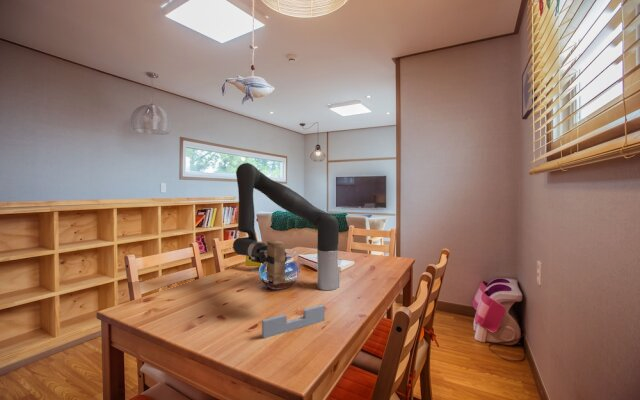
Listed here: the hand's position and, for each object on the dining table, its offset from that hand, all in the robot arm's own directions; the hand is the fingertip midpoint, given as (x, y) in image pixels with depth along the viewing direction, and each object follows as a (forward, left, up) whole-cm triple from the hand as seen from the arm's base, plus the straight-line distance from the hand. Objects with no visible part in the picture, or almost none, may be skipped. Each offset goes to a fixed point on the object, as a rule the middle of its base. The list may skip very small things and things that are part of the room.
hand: (279, 260), depth 105 cm
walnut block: (0, -3, -8) cm, 8 cm away
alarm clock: (-20, -58, -20) cm, 64 cm away
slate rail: (0, +11, -20) cm, 22 cm away
